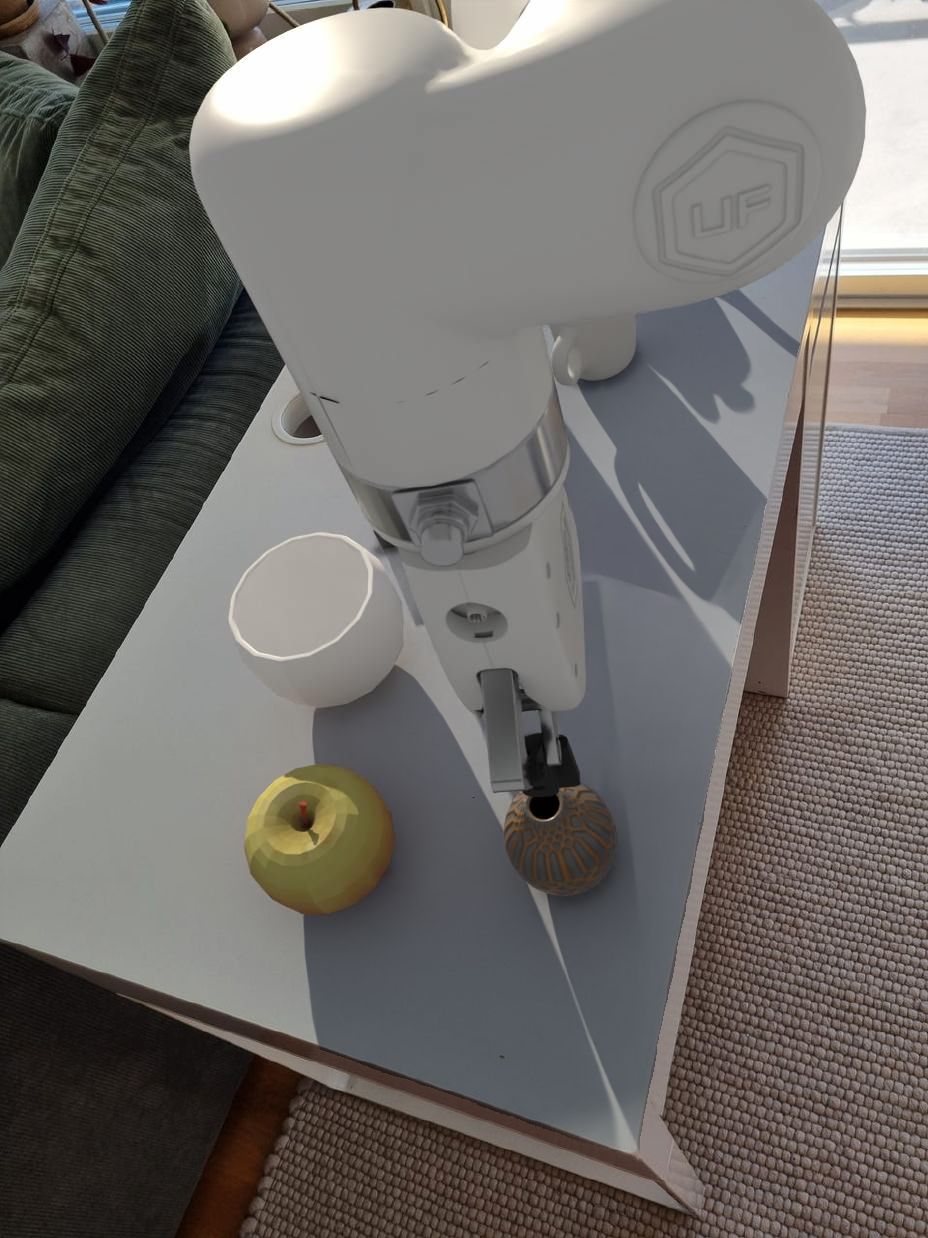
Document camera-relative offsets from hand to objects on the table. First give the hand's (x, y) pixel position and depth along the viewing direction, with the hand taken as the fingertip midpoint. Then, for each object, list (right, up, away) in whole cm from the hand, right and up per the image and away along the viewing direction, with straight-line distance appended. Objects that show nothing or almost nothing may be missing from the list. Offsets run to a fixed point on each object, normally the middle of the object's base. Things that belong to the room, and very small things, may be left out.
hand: (543, 689), depth 45 cm
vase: (+3, -12, +16) cm, 21 cm away
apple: (-12, -13, +20) cm, 27 cm away
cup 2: (+8, +26, +40) cm, 49 cm away
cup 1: (-13, 0, +30) cm, 32 cm away
